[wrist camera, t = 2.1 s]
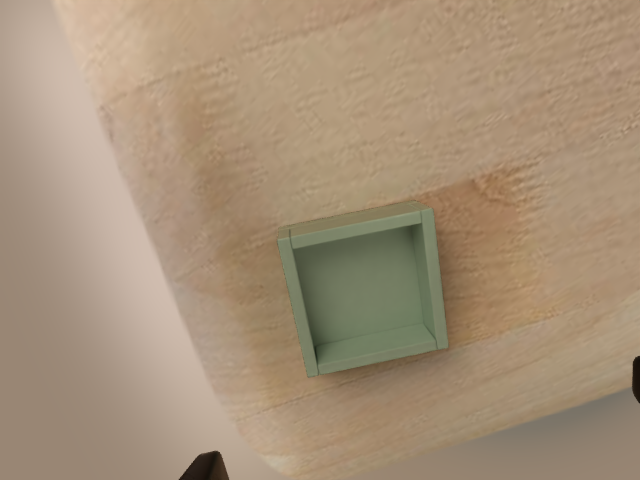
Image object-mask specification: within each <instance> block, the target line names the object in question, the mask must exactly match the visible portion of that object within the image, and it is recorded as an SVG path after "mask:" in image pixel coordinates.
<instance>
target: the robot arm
mask: <svg viewBox="0 0 640 480" xmlns="http://www.w3.org/2000/svg"><path fill="white" fill-rule="evenodd" d="M632 390H633V394H634V396H635V397H636V399H637V401H638V402H639V403H640V356H638V357H636V358H635V359H634V361H633V377H632ZM179 480H229V477H228V474H227V471H226V468H225V465H224V462H223V458H222V456H221V454H220V452H218V451H212V452H208V453H203V454H200V455H199V456H198V457H197V458H196V459H195V460H194V461H193V463H192V464H191V465H190V466H189V468H188V469H187V470H186V471H185V473H184V474H183V475H182V476H181V477H180V479H179Z"/></svg>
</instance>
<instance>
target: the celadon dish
mask: <svg viewBox="0 0 640 480" xmlns="http://www.w3.org/2000/svg"><path fill="white" fill-rule="evenodd" d="M277 244H278V248H279V252H280V257H281V261H282V266H283V270H284V275H285V279H286V284H287V288H288V292H289V297H290V301H291V306H292V310H293V315H294V319H295V324H296V328H297V332H298V337H299V341H300V346H301V350H302V355H303V359H304V364H305V368H306V372H307V377H308V378H310V377H314V376H318V375H319V374H320V375H324V374H328V373H333V372H338V371H342V370H347V369H352V368H356V367H361V366H365V365H370V364H375V363H379V362H384V361H389V360H393V359H398V358H403V357H407V356H412V355H417V354H421V353H426V352H431V351H435V350H441V349H445V348H449V344H448V335H447V326H446V317H445V308H444V299H443V290H442V282H441V273H440V264H439V255H438V246H437V237H436V228H435V219H434V210H433V208H431V207H429V206H427V205H425V204H422V203H420V202H418V201H416V200H412V201H407V202H402V203H397V204H392V205H387V206H382V207H377V208H372V209H367V210H362V211H357V212H352V213H347V214H342V215H337V216H332V217H327V218H322V219H317V220H312V221H308V222H303V223H298V224H293V225H288V226H283V227H279V228H278V236H277Z"/></svg>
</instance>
